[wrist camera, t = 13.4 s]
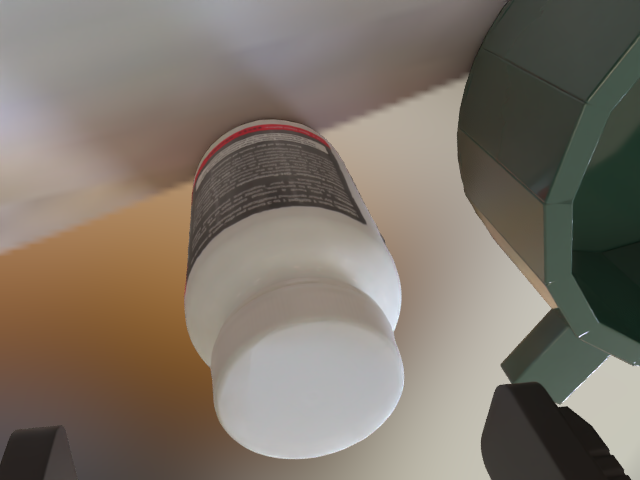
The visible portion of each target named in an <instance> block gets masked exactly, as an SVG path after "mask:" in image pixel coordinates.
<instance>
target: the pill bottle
mask: <svg viewBox="0 0 640 480" xmlns="http://www.w3.org/2000/svg"><path fill="white" fill-rule="evenodd" d="M191 205H192V206H191V223H190V232H189V247H188V264H187V274H186V276H187V277H186V286H185V296H184V305H185V318H186V324H187V329H188V332H189V335H190V338H191V341H192V343H193V345H194V347H195V349H196V350H197V352H198V353H199V355H200V356H201V358H202V359H203V360H204V362H205V363H206V364H207V365H208V366H209V367H210V368H211V375H212V379H213V398H214V406H215V410H216V414H217V417H218V419H219V422H220V423H221V425H222V426H223V428H224V429H225V430H226V432H227V433H228V434H229V435H230V436H231V437H232V438H233V439H234V440H235V441H237V442H238V443H239V444H241V445H242V446H244V447H245V448H248V449H249V450H251V451H253V452H256V453H259V454H263V455H266V456H270V457H275V458H285V459H306V458H313V457H320V456H324V455H328V454H331V453H334V452H337V451H340V450H343V449H346V448H348V447H350V446H352V445H353V444H355V443H358V442H359V441H361V440H363V439H365V438H366V437H368V436H369V435H370V434H372V433H373V432H374V431H375V430H376V429H378V428H379V427H380V426H381V425H382V424H383V423H384V422H385V420H386V419H387V418H388V417H389V416H390V414H391V413H392V412H393V410H394V408H395V407H396V405H397V403H398V401H399V399H400V396H401V393H402V390H403V386H404V367H403V363H402V359H401V356H400V353H399V350H398V347H397V345H396V342H395V338H394V330H395V327H396V324H397V321H398V318H399V314H400V308H401V284H400V279H399V275H398V272H397V269H396V266H395V262H394V260H393V258H392V256H391V254H390V252H389V250H388V249H387V247H386V244H385V240H384V239H383V237H382V235H381V234H380V232H379V230H378V228H377V226H376V224H375V222H374V220H373V219H372V217H371V215H370V213H369V211H368V209H367V208H366V206H365V204H364V202H363V200H362V198H361V196H360V193H359V192H358V190H357V188H356V185H355V184H354V182H353V179H352V177H351V176H350V174H349V172H348V170H347V168H346V166H345V164H344V162H343V160H342V159H341V157H340V156H339V154H338V153H337V151H336V150H335V149H334V147H333V146H332V145H331V144H330V143H329V142H328V141H327V140H326V139H325V138H324V137H323V136H321V135H320V134H319V133H317V132H316V131H314V130H312V129H311V128H309V127H307V126H305V125H302V124H299V123H295V122H290V121H286V120H276V119H270V120H257V121H254V122H250V123H246V124H243V125H240V126H238V127H236V128H234V129H232V130H231V131H229V132H227V133H225V134H224V135H223V136H221V137H220V138H219V139H218V140H217V141H216V142H215V143H213V144H212V145H211V146H210V148H209V149H208V150H207V152H206V153H205V155H204V156H203V158H202V160H201V161H200V163H199V166H198V168H197V171H196V174H195V178H194V182H193V192H192V204H191Z"/></svg>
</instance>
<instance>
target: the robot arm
mask: <svg viewBox="0 0 640 480" xmlns="http://www.w3.org/2000/svg"><path fill="white" fill-rule="evenodd" d="M481 452H482V457H483V461H484V464H485V467H486V469H487V472H488V474H489V476H490V478H491V480H631V479H630V477H629V476H628V475H625V473H624V469H623V468H622V466H621V465H620V464H619V462H618V461H617V460H616V458H615V457H614V455H610V453H609V449H608V447H607V446H606V444H605V443H604V442H603V440H602V439H601V438H600V437H599V435H598V434H597V432H596V431H595V430H594V428H593V427H592V426H591V425H590V424H588V423H587V422H586V421H585V420H584V419H582V418H581V417H580V416H579V415H577V414H576V413H575V412H574V411H572V410H571V409H570V408H568V407H567V406H566V407H558V406H557V405H556V404H555V402H554V401H553V399H552V398H551V396H550V395H549V394H548V392H547V391H546V389H545V388H544V387H543V386H542V385H541V384H540V383H538V382H525V383H514V384H505V385H499V386H498V387H497V388H496V390H495V392H494V395H493V398H492V402H491V406H490V409H489V413H488V416H487V419H486V423H485V426H484V430H483V433H482V437H481ZM0 480H78V478H77V473H76V470H75V466H74V462H73V458H72V454H71V450H70V446H69V442H68V438H67V434H66V430H65V428H64V427H63V426H62V425H61V426H50V427H40V428H29V429H19V430H15V431H14V432H13V433H12V434H11V436H10V438H9V441H8V444H7V447H6V449H5V452H4V455H3V458H2V461H1V464H0Z"/></svg>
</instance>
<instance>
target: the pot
mask: <svg viewBox="0 0 640 480" xmlns="http://www.w3.org/2000/svg"><path fill="white" fill-rule="evenodd" d="M457 147H458V162H459V167H460V173H461V178H462V182H463V185H464V192H465V195H466V197H467V198H468V200H469V201H470V203H471V204H472V206H473V208H474V210H475V212H476V214H477V215H478V216H479V218H480V219H481V220H482V222H483V223H484V225H485V226H486V228H487V229H488V231H489V233H490V234H491V236H492V237H493V239H494V240H495V241H496V243H497V244H498V245H499V246H500V247H501V249H502V250H503V251H504V252H505V253H506V255H507V256H508V257H509V258H510V259H511V260H512V262H513V263H514V264H515V265H516V266H517V267H518V269H519V270H520V271H521V272H522V274H523V275H524V276H525V277H526V278H527V279H528V281H529V282H530V283H531V284H532V285H533V287H534V288H535V289H536V290H537V291H538V292H539V294H540V295H541V296H542V297H543V298H544V300H545V301H546V302H547V303H548V304H549V306H550V307H551V308H552V309H551V310H550V311H549V312H548V313H547V314H546V316H545V317H544V318H543V319H542V320H541V321H540V322H539V323H538V324H537V325H536V326H535V327H534V329H533V330H532V331H531V332H530V333H529V334H528V335H527V336H526V338H524V339H523V341H522V342H521V343H520V344H519V345H518V346H517V347H516V348H515V349H514V350H513V351H512V353H511V354H510V355H509V356H508V357H507V358H506V359H505V360H504V361H503V363H501V367H502V369H503V371H504V372H505V374H506V375H507V377H508V378H509V380H510V382H511V383H512V384H514V383H525V382H538V383H540V384H541V385H542V386H543V387H544V388H545V389H546V391H547V392H548V394H549V395H550V396H551V398H552V399H553V401H554V402H555V403H557V404H562V403H563V402H564V401H565V400H566V399H567V398H568V397H569V396H570V395H571V394H572V393H573V392H574V391H575V390H576V389H577V388H578V387H579V386H580V385H581V384H582V383H583V382H584V381H585V380H586V379H587V378H588V377H589V376H590V375H591V374H592V373H593V372H594V371H595V370H596V369H597V368H598V367H599V366H600V365H601V364H602V363H603V362H604V361H605V360H606V359H607V358H608V357H609V356H610V355H612V356H614V357H616V358H618V359H620V360H622V361H624V362H626V363H628V364H630V365H633V366H640V0H509V1H508V3H507V4H506V5H505V6H504V8H503V9H502V11H501V12H500V14H499V16H498V17H497V19H496V20H495V22H494V24H493V25H492V27H491V28H490V30H489V32H488V33H487V35H486V37H485V39H484V41H483V43H482V45H481V47H480V49H479V52H478V54H477V56H476V58H475V60H474V63H473V65H472V68H471V71H470V74H469V77H468V80H467V82H466V86H465V89H464V94H463V98H462V103H461V107H460V113H459V122H458V132H457Z"/></svg>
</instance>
